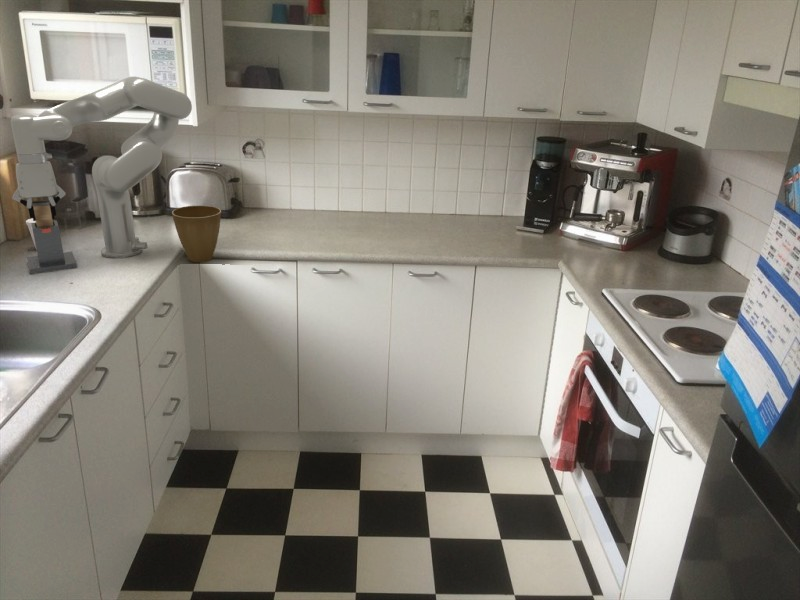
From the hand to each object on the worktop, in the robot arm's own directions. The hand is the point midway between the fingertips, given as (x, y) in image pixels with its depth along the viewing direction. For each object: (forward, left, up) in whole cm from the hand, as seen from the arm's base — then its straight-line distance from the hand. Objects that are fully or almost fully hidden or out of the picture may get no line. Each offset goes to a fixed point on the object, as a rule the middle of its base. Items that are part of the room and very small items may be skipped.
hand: (43, 218), depth 200 cm
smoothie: (+13, -15, -15) cm, 25 cm away
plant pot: (-43, -13, -15) cm, 47 cm away
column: (0, 0, -13) cm, 13 cm away
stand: (0, 0, -15) cm, 15 cm away
